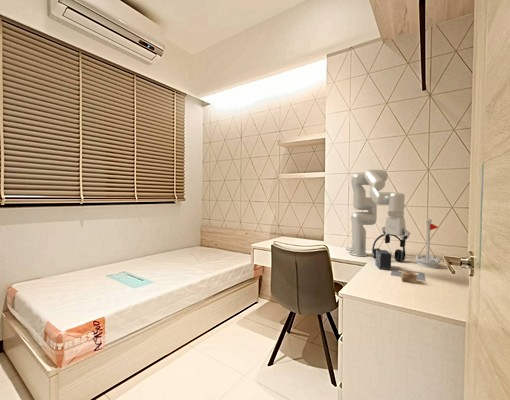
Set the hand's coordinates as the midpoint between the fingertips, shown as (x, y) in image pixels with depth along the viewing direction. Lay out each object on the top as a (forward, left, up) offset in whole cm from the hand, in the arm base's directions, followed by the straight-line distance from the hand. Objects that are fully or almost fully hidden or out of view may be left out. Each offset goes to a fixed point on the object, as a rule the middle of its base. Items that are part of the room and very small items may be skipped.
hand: (394, 244), depth 142 cm
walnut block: (+7, -12, -17) cm, 22 cm away
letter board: (+7, +1, -16) cm, 18 cm away
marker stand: (+17, +31, -17) cm, 39 cm away
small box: (-6, +7, -17) cm, 19 cm away
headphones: (-5, +29, -17) cm, 34 cm away
